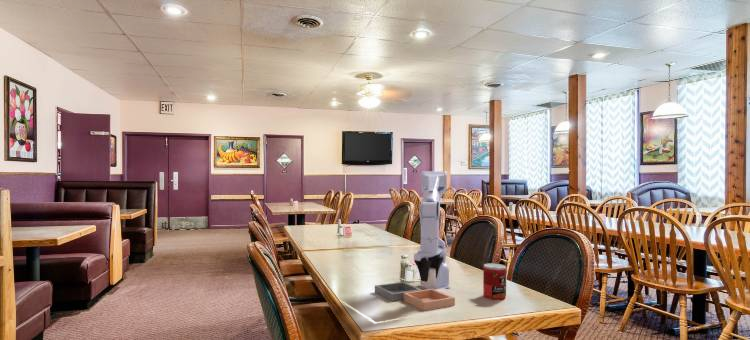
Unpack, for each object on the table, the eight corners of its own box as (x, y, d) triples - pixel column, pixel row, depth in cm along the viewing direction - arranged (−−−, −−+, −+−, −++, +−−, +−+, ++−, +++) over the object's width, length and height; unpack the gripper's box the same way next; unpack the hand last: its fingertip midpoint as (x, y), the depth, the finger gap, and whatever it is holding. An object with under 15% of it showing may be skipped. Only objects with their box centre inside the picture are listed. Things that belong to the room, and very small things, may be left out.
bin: (403, 289, 156) (403, 281, 156) (422, 298, 146) (422, 289, 146) (374, 294, 150) (374, 285, 150) (392, 303, 140) (392, 294, 140)
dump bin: (432, 297, 147) (432, 288, 147) (454, 307, 137) (454, 297, 137) (403, 302, 141) (403, 293, 141) (424, 312, 131) (424, 302, 131)
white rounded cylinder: (425, 281, 143) (425, 266, 143) (438, 283, 139) (438, 268, 140) (417, 284, 139) (417, 269, 139) (430, 286, 136) (430, 271, 136)
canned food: (494, 301, 143) (494, 268, 143) (478, 295, 150) (478, 264, 150) (511, 298, 147) (511, 266, 147) (494, 292, 154) (494, 262, 154)
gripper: (431, 234, 147) (430, 273, 147) (406, 239, 136) (405, 281, 136) (449, 236, 143) (448, 277, 142) (424, 241, 132) (424, 285, 131)
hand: (428, 279), depth 139 cm, fingers closed on white rounded cylinder, 5 cm apart
